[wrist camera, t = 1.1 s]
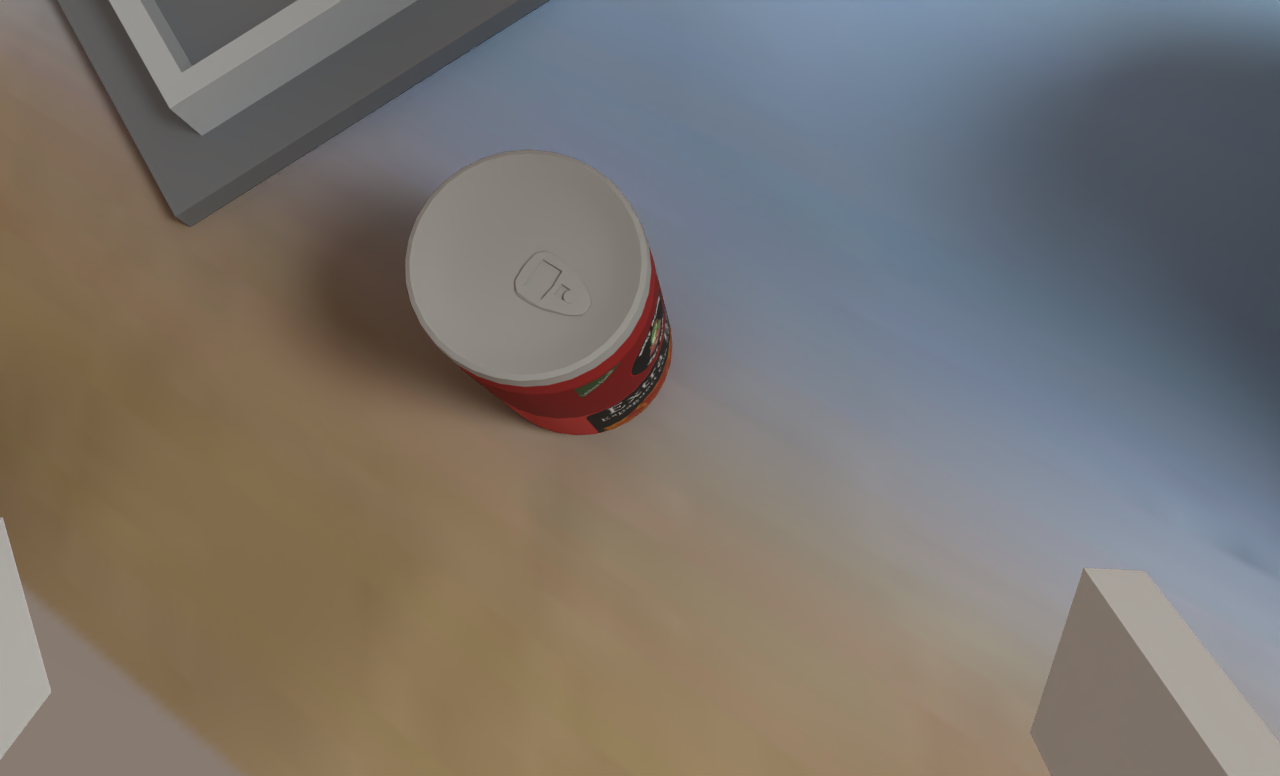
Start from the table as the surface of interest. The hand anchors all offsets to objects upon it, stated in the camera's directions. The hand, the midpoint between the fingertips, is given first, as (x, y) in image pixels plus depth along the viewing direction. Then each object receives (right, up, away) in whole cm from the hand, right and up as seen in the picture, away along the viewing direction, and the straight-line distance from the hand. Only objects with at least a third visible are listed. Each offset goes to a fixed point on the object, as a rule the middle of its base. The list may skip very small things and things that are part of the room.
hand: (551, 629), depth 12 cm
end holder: (-16, +24, +34) cm, 45 cm away
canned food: (-1, +5, +29) cm, 29 cm away
